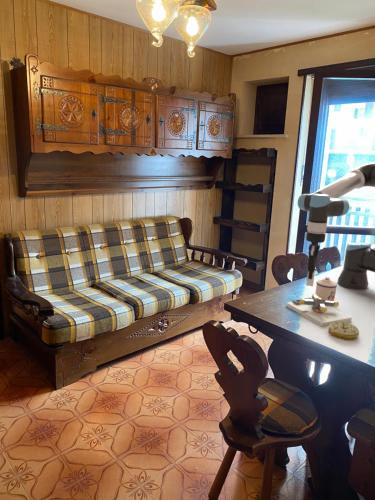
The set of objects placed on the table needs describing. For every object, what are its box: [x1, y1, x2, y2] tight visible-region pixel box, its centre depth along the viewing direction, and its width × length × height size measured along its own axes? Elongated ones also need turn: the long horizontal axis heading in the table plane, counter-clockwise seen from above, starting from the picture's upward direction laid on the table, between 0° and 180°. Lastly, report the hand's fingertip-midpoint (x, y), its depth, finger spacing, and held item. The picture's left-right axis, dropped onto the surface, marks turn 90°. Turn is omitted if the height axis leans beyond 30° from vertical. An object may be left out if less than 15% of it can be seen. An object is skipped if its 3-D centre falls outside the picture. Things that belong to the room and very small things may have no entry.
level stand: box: [286, 297, 352, 327], centre depth 166 cm, size 16×22×3 cm
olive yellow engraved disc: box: [328, 322, 360, 341], centre depth 147 cm, size 10×11×4 cm
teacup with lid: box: [314, 276, 338, 301], centre depth 181 cm, size 12×9×12 cm
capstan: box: [299, 293, 340, 313], centre depth 165 cm, size 17×17×5 cm
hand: (309, 285), depth 167 cm, fingers closed
